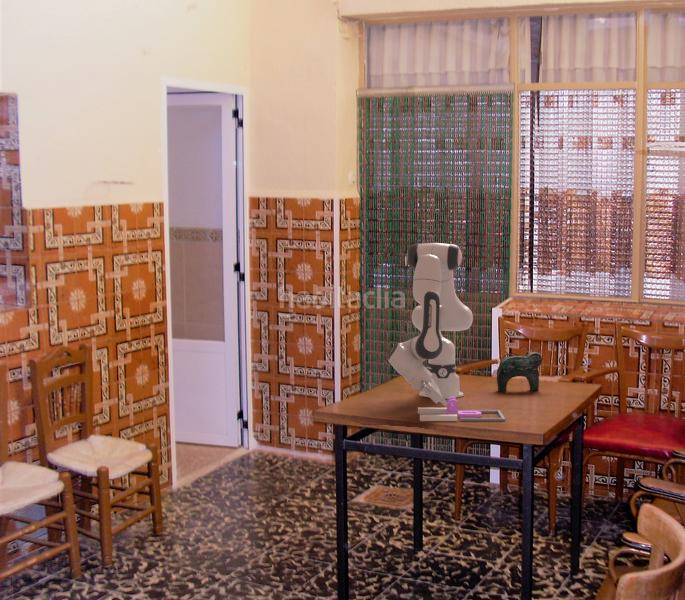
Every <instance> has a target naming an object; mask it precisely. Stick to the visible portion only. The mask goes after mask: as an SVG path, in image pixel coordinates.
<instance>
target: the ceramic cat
mask: <svg viewBox="0 0 685 600" xmlns="http://www.w3.org/2000/svg"><path fill="white" fill-rule="evenodd" d="M523 347H526V348H527V349H529V347H528V346H527V345H525V344H524V345H521V346H519V349H522V348H523ZM525 353H526V354H524V355H520V354H517V353H513V352H511V353H506V354H504V355H503V356H502V357H501V359H500V361H499V364H498V368H497V370H496V382H497V384H496V385H497V391H498V392H499V393H503V392H504V393H506V392H507V385H508V382H509V381H511V379H513V378H515V377H517V378H518V377H522V378H523V377H524V378H526V380H527V383H528V386H529V391H530V392H539V386H540V375H539V367H540V366H541V365H542V362H543V357H542V354H541V353H540V350H539V348H537V349H536V350H535V351H532V352H531V351H529V350H526V351H525ZM509 355H513V356H509ZM506 356H507V357H506ZM504 357H505V358H504Z"/></svg>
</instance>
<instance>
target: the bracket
mask: <svg viewBox="0 0 685 600" xmlns="http://www.w3.org/2000/svg"><path fill="white" fill-rule="evenodd" d="M446 401H447V403H448V404H447V405H446V408H447V414H457V419H458V418H459V419H460V418H482V413H481V412H479V411H458V410H459V402H458V400H457V397H456V398H455V397H449V398H448V399H446Z"/></svg>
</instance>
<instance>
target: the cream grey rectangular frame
mask: <svg viewBox="0 0 685 600" xmlns="http://www.w3.org/2000/svg"><path fill="white" fill-rule="evenodd" d="M458 411H479V412H481V414H497V415H498V416H499V417H478V418H459V422H506V418H505V416H504V414H503V413H502V411H501V410H500V409H495V410H494V409H493V410H492V409H491V410H490V409H486V410H485V409H471V410H470V409H458ZM417 414H418V415H419V422H458V418H457V414H447V407H417Z"/></svg>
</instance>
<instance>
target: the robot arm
mask: <svg viewBox="0 0 685 600" xmlns="http://www.w3.org/2000/svg"><path fill="white" fill-rule="evenodd" d="M407 249H408V250H407V253H406V260H407V264H408V266H409V267H410V268H411V269H413V270H414V273H413V282H412V283H413V284H412V296H413V299H414V300H415V301H416V302H417V303H418V304H419V305H416V306H415V308H414V309H413V311H412V312H411V321H412V324H413V326H414V327H415V328H416V329H417V330H418V331H420V334H418V335H416V336H414V337H412V338H411V339H408V340H406V341H403V342H399V343H396V344H394V345H393V346H392V347H391V349H390V350H389V352H388V354H387V360H388V361H387V362H389V364H390V365H391V366H392V367H393V369H394V370H395V371H396V373H398V374H399V375H401V376H402V377H403V378H404V379H405V381H406V382H407V383H408V384H409V385H410V386H411V387H412V388H413V389H414V390H415V391H418V390H419V391H420V392H419V395H418V396H419V397H424V398H428V399H429V398H430V399H431V401H432V402H433V403H434V404H438V403H440V404H441V405H443V407H447V404H448V403H447V400H448V398H449V397H455V398H456V399H457V398H459V397H464V396H465V395H464V392H462V391H460V376H459V375H458V374H457V373H456V372H457V365H456V346H455V344H454V343H453V341H451V340H450V339H447V338H446V337H444V336H443V334H442V331H443V332H461V331H467V330H469V329H470V327H471V326H472V324H473V321H474V316H473V312H472V310H471V309H470V307H468V306H467V305H466V304H464V303H463V302H462V301H461V300H460V299H459V297H458V295H457V294H456V289H455V281H454V280H455V279H454V270H457V269H458V268H460V266H461V264H462V261H463V254H462V249H461V247H459V245H457V244H454V243H450V244H449V243H443V242H442V243H441V242H430V243H428V242H427V243H419V242H417V243H413V244H411V245H410V246H409V247H408V248H407ZM427 360H428V362H427V367H426V366H425V365H424V361H427Z"/></svg>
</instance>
